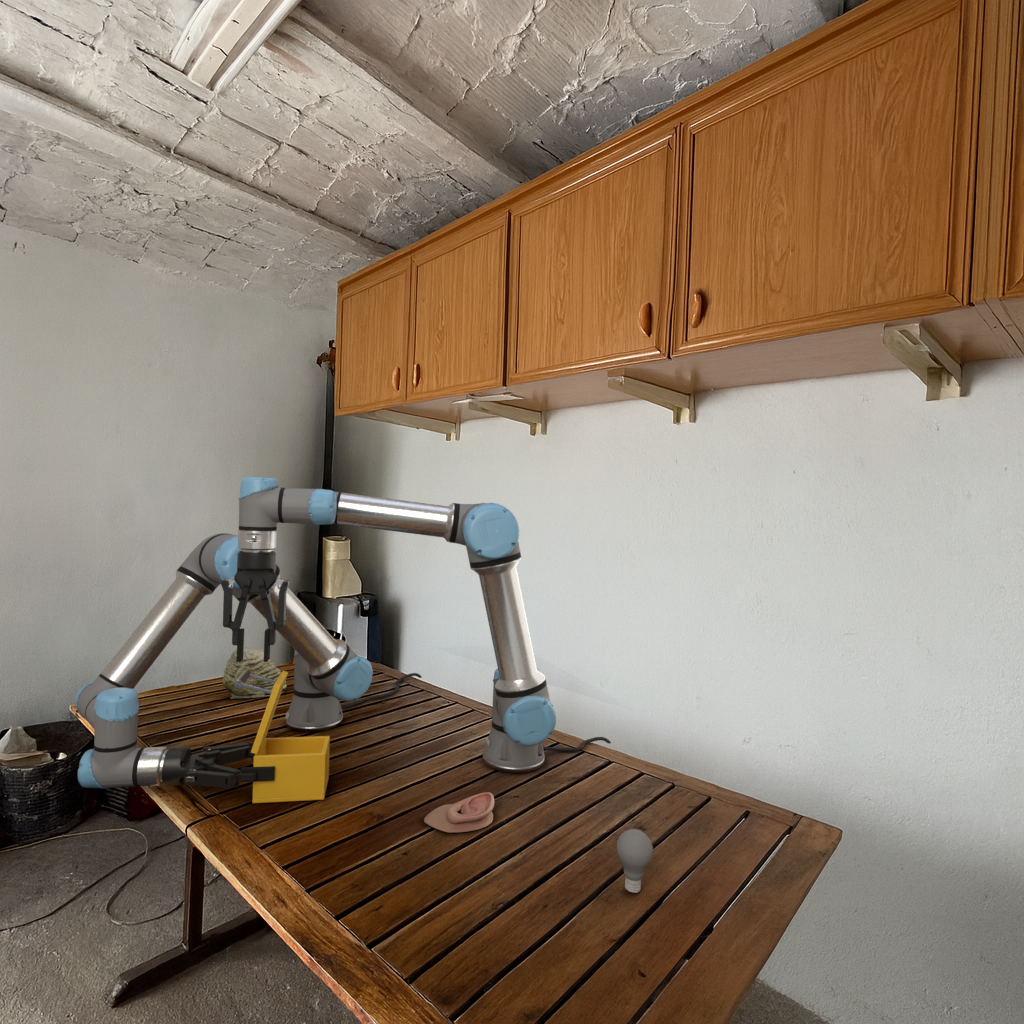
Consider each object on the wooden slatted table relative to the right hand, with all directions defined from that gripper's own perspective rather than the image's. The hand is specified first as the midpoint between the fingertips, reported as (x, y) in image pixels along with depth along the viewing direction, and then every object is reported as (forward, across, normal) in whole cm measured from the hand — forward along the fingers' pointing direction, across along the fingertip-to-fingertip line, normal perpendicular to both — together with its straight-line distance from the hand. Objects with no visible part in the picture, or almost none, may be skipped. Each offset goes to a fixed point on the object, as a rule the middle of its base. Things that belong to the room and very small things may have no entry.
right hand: (253, 660), depth 134 cm
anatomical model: (+28, +43, -16) cm, 54 cm away
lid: (+11, +4, 0) cm, 12 cm away
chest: (+28, +9, 0) cm, 30 cm away
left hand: (+22, +6, 0) cm, 23 cm away
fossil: (+28, -12, +67) cm, 74 cm away
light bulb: (+28, +69, -43) cm, 86 cm away
